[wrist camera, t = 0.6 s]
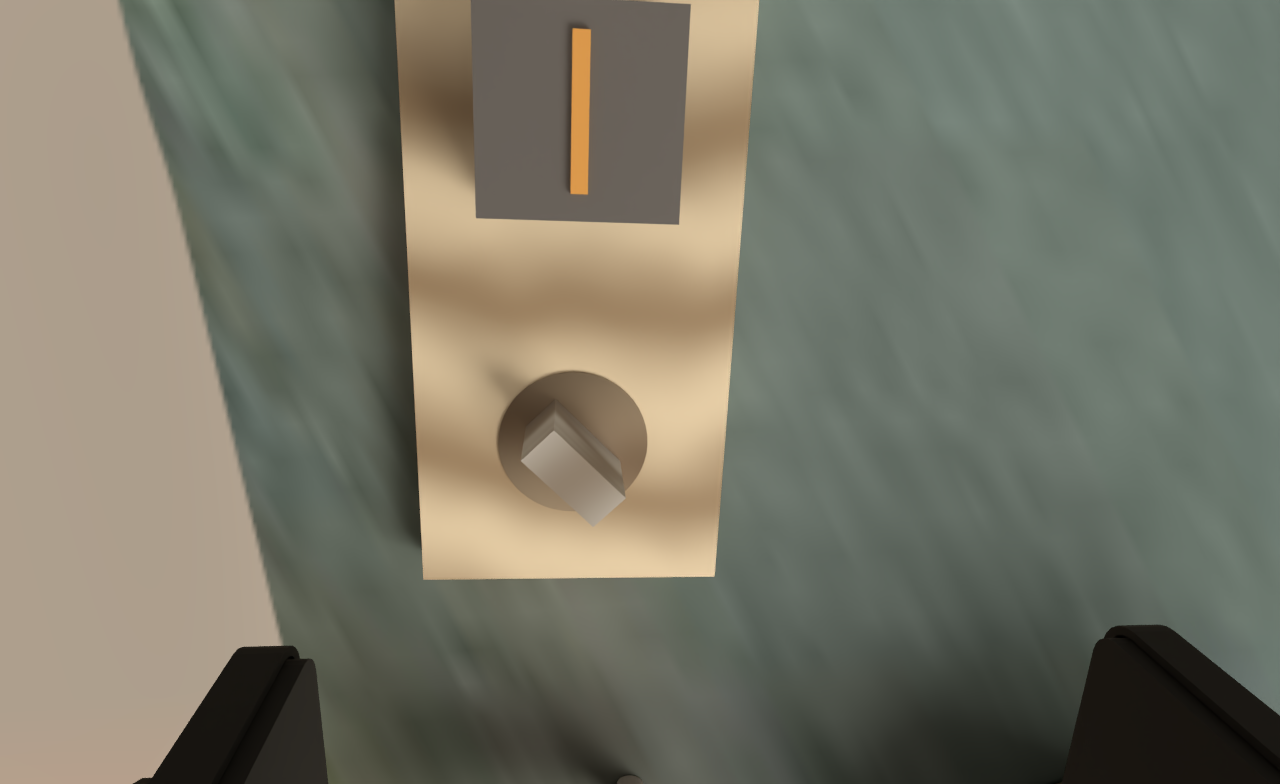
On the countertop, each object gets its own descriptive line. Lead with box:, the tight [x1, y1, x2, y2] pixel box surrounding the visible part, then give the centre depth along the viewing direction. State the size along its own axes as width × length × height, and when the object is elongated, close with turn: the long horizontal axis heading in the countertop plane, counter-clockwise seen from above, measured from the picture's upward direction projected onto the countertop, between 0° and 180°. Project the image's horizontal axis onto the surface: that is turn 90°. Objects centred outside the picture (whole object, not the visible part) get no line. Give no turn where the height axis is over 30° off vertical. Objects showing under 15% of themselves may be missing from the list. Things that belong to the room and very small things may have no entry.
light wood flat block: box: [395, 0, 759, 580], centre depth 28 cm, size 24×12×6 cm, turn 178°
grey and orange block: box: [471, 0, 691, 225], centre depth 25 cm, size 6×6×5 cm
